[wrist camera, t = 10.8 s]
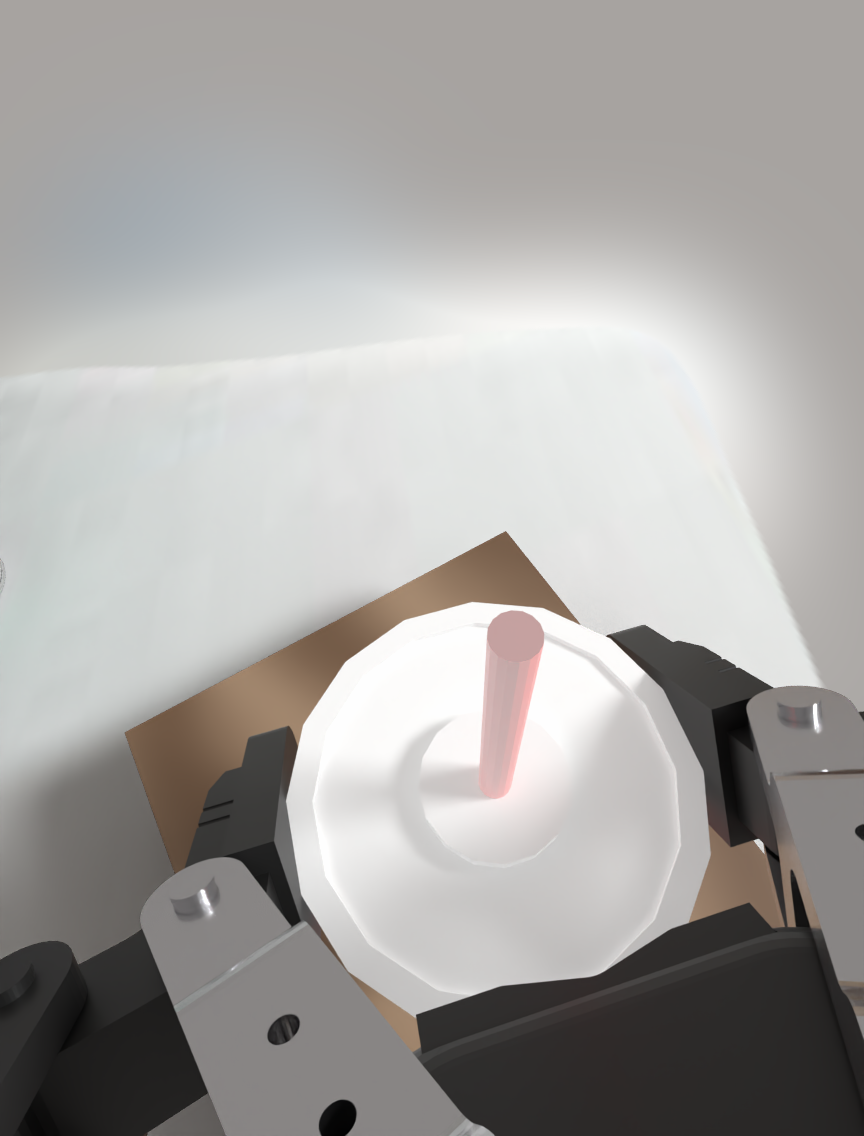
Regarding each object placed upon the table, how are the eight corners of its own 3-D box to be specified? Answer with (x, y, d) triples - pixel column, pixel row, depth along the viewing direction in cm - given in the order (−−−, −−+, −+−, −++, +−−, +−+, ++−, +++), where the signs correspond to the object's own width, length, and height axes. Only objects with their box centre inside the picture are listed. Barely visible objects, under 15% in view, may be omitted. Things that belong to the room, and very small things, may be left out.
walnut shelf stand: (425, 1382, 18) (411, 1541, 13) (188, 777, 27) (124, 732, 22) (821, 1042, 22) (931, 1064, 17) (498, 604, 31) (506, 531, 25)
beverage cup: (329, 816, 18) (71, 514, 6) (523, 715, 20) (612, 304, 8) (430, 1065, 15) (299, 1377, 3) (651, 928, 17) (1127, 802, 5)
